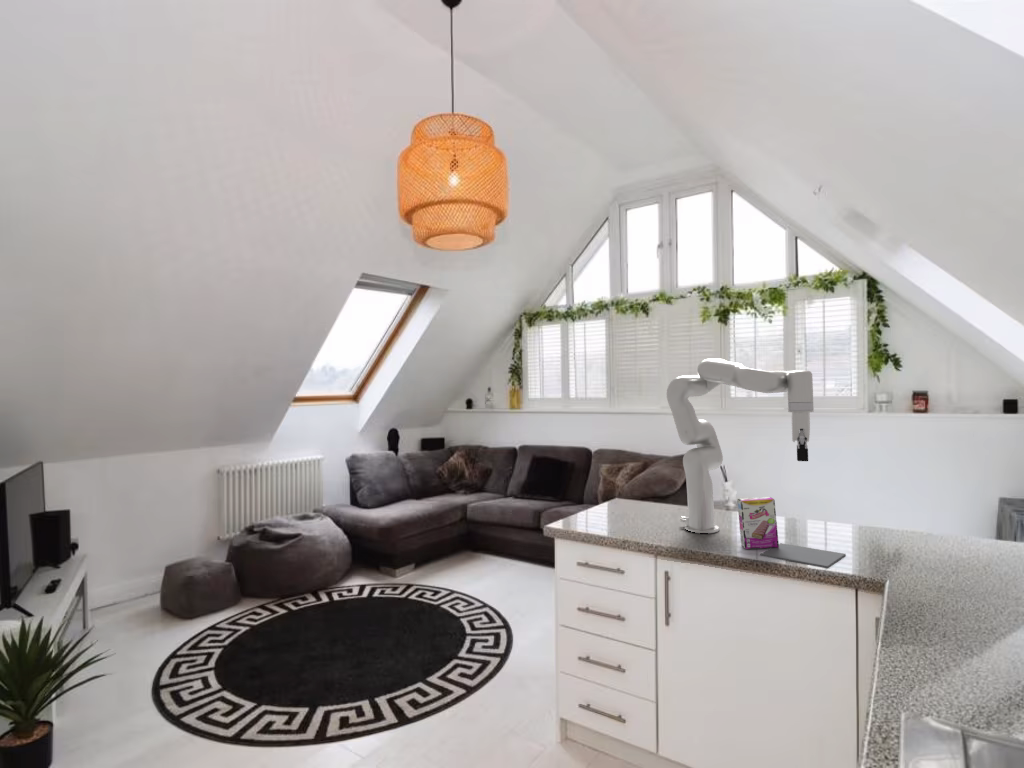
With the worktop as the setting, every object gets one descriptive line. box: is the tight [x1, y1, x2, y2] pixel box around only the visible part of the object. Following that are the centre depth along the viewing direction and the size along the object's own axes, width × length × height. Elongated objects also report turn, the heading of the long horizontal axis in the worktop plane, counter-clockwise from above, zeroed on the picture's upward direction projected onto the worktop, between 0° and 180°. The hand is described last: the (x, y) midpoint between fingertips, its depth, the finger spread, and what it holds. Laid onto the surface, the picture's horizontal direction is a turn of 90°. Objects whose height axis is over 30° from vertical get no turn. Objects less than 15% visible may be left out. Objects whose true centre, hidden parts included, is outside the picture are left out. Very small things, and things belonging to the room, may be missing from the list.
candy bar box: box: [736, 496, 780, 550], centre depth 190 cm, size 11×5×16 cm, turn 84°
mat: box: [759, 542, 846, 569], centre depth 180 cm, size 20×16×1 cm
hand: (802, 459), depth 186 cm, fingers open, 9 cm apart
